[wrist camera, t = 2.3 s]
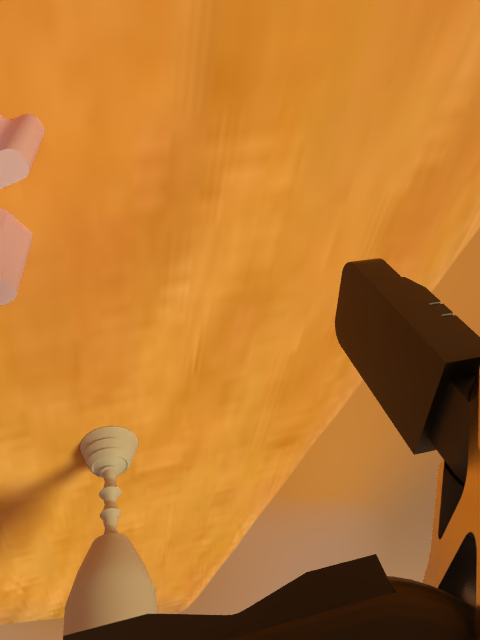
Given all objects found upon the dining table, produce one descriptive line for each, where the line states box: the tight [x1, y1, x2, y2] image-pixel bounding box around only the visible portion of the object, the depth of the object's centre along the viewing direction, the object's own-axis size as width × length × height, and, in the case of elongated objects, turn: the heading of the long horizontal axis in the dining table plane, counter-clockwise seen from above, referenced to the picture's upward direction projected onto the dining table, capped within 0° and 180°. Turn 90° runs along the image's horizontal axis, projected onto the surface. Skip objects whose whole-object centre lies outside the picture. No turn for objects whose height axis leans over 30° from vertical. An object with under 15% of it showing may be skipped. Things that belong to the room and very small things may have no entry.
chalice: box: [63, 426, 158, 636], centre depth 34 cm, size 7×7×18 cm
